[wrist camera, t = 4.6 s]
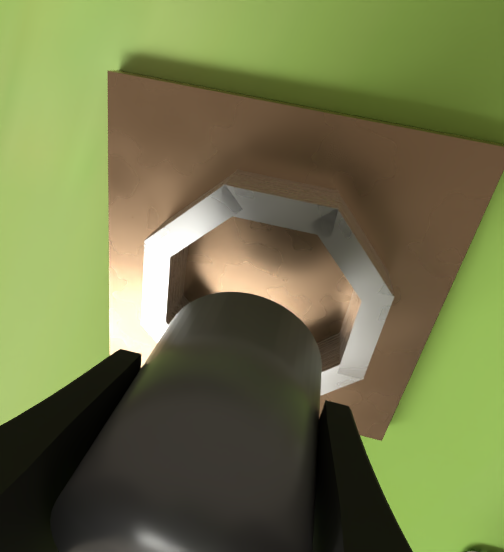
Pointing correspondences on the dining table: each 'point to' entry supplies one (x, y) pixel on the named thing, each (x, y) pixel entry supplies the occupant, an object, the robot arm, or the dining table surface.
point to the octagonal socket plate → (290, 225)
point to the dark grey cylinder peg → (206, 440)
